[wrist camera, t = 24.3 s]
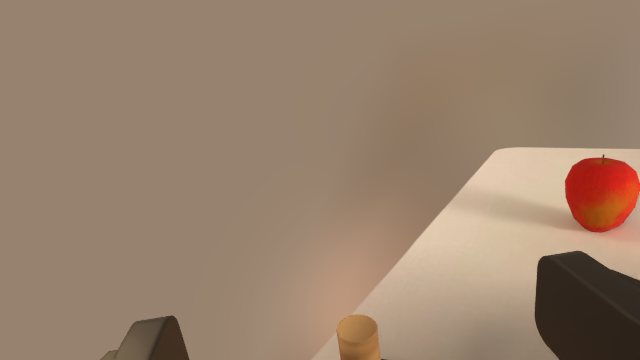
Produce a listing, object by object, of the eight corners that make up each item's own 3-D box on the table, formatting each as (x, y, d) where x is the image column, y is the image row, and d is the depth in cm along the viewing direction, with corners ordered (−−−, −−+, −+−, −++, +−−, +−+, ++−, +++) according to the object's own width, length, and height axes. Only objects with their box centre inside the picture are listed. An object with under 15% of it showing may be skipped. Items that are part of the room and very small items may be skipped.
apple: (649, 236, 56) (662, 158, 52) (588, 244, 56) (596, 166, 52) (603, 211, 65) (611, 142, 61) (549, 218, 65) (554, 150, 61)
